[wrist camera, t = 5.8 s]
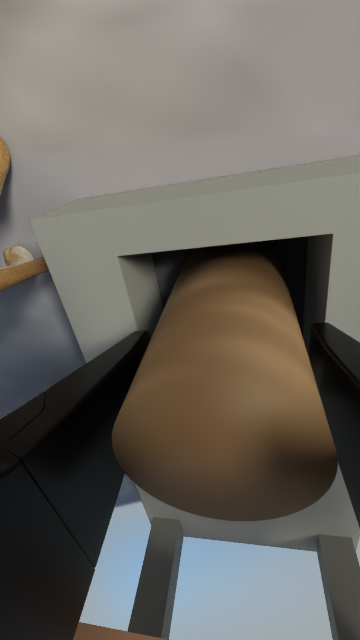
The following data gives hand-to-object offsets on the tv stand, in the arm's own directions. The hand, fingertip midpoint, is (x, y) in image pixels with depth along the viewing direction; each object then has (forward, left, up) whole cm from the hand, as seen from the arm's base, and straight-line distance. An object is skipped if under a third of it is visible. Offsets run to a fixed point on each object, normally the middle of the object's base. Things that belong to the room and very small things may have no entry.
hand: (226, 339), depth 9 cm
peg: (0, 0, -3) cm, 3 cm away
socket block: (0, +5, -3) cm, 6 cm away
